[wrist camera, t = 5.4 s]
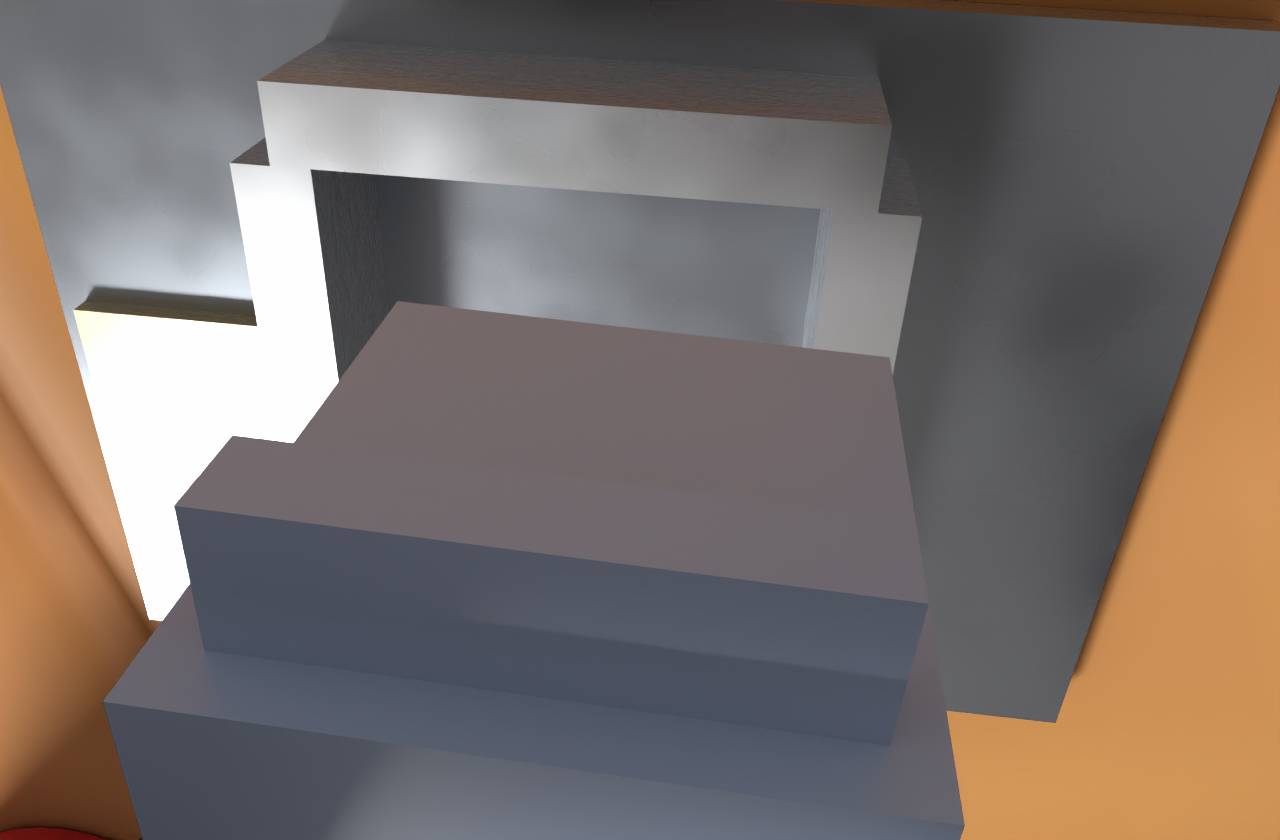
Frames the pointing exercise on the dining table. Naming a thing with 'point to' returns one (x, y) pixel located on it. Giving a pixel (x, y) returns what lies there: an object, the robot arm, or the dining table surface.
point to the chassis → (662, 233)
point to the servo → (552, 603)
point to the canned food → (46, 834)
